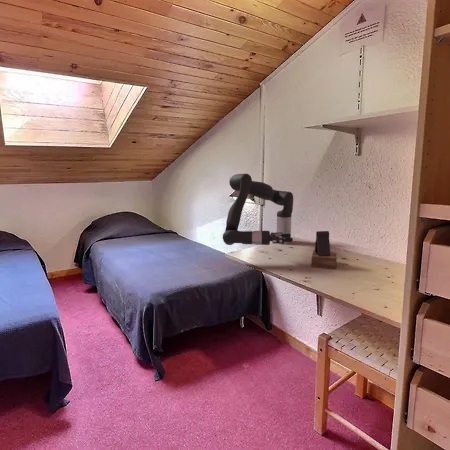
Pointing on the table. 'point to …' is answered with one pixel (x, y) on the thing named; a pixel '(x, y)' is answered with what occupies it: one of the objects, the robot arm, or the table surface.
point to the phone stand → (322, 243)
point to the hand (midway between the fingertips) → (291, 237)
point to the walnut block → (324, 261)
